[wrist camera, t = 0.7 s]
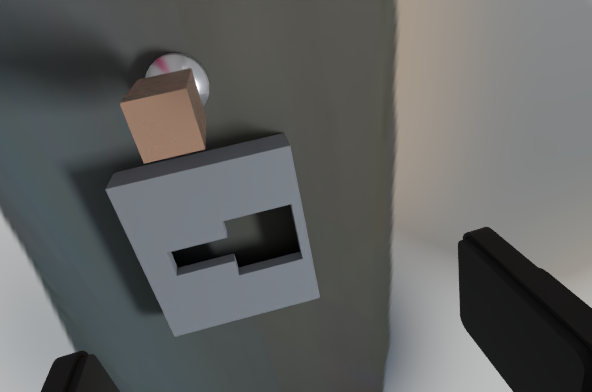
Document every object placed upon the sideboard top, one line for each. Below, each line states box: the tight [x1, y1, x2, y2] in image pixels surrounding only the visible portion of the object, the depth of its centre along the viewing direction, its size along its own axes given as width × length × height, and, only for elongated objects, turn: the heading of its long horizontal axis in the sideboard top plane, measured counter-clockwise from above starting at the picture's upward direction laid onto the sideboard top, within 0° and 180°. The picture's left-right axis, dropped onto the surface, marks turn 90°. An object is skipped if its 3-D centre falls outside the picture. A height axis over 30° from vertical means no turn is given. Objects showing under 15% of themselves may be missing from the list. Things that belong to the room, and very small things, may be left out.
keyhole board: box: [105, 133, 320, 337], centre depth 38 cm, size 17×15×3 cm
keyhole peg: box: [120, 52, 209, 163], centre depth 27 cm, size 5×5×11 cm
